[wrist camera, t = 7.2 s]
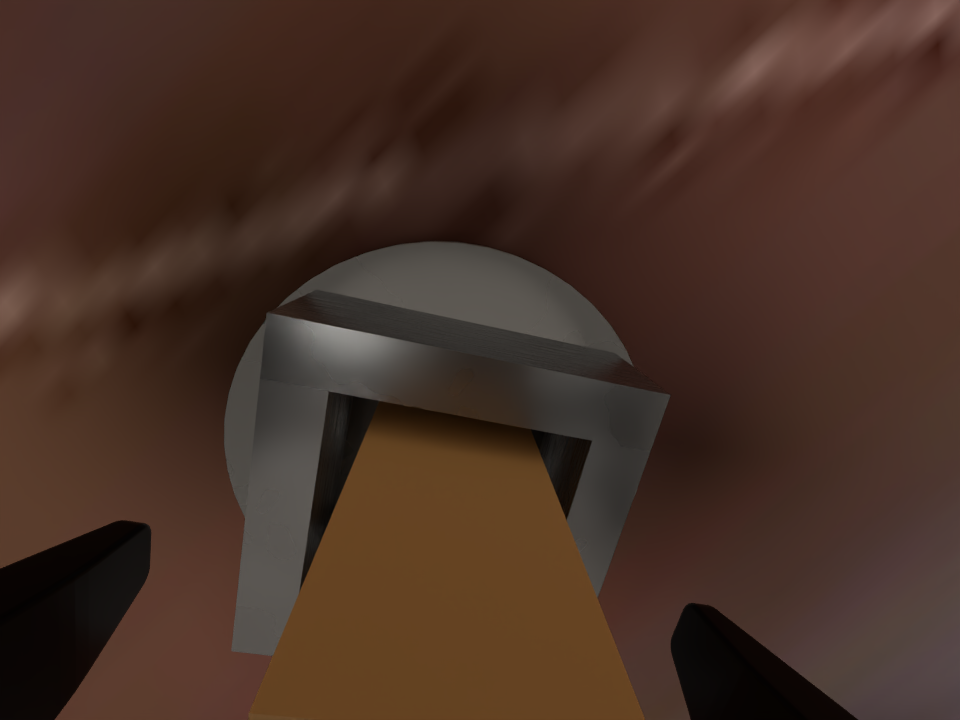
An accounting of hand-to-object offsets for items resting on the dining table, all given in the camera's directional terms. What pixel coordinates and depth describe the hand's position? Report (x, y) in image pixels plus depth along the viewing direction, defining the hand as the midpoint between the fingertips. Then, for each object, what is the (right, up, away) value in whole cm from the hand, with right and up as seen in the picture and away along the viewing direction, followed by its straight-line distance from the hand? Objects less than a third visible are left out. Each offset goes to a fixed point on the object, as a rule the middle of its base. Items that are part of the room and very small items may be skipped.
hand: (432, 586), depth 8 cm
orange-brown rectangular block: (0, +1, +4) cm, 5 cm away
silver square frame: (0, +2, +6) cm, 6 cm away
